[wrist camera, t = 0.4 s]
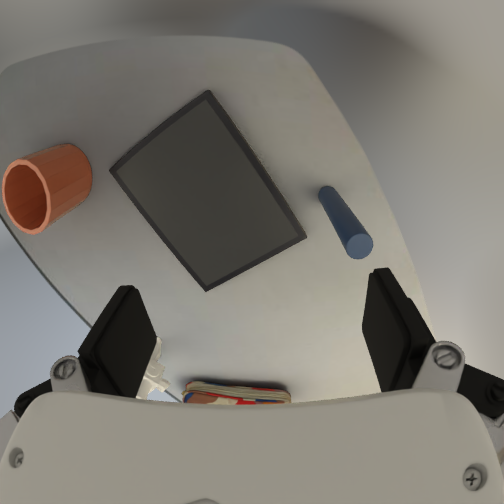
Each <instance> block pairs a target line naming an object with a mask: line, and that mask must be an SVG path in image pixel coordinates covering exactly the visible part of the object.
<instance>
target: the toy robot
mask: <svg viewBox="0 0 504 504" xmlns="http://www.w3.org/2000/svg"><path fill="white" fill-rule="evenodd" d="M161 342H162V341H161V339H160V338H159V337H157V343H156V346H155V348H154V351H153V353H152V356H151V359H150V361H149V364H148V366H147V369H146V372H145V374H144V377H143V380H142V382H141V385H140V388H139V390H138V393H137V396H136V398H137V399H145V400H147V395H148V393H150V392H151V391H152V390H153V389H155V388H157V389H158V390H159V391H161V392H163V391H164V390H165V389H166V388H167V387H168V386H169V385H170V383H169V382H168V381H167V380H165V379H162V375H163V372H164V369H165V367H164V366H163V365H161V364H159V363H157V361H158V359H159V358H160V356H161Z"/></svg>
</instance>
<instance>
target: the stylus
mask: <svg viewBox="0 0 504 504" xmlns="http://www.w3.org/2000/svg"><path fill="white" fill-rule="evenodd" d="M318 197H319V200H320V202H321V204H322V206H323V207H324V209H325V211H326V213H327V215H328V217H329V219H330V221H331V223H332V224H333V226H334V228H335V230H336V232H337V234H338V236H339V238H340V240H341V242H342V244H343V246H344V248H345V250H346V252H347V254H348V255H349V256H350V257H351V258H353V259H362V258H365V257H366V256H368V255H369V254H370V252H371V251H372V248H373V240H372V238H371V237H370V235H369V234H368V233H367V231H366V230H365V228H364V227H363V226H362V224H361V223H360V222H359V220H358V219H357V217H356V216H355V215H354V213H353V212H352V211H351V209H350V208H349V207H348V206H347V204H346V203H345V202H344V200H343V199H342V198H341V196H340V195H339V194H338V193H337V191H336V190H335V189H334V188H333V187H330V186H325V187H323V188H322V189H321V190H320V191H319V194H318Z"/></svg>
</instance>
